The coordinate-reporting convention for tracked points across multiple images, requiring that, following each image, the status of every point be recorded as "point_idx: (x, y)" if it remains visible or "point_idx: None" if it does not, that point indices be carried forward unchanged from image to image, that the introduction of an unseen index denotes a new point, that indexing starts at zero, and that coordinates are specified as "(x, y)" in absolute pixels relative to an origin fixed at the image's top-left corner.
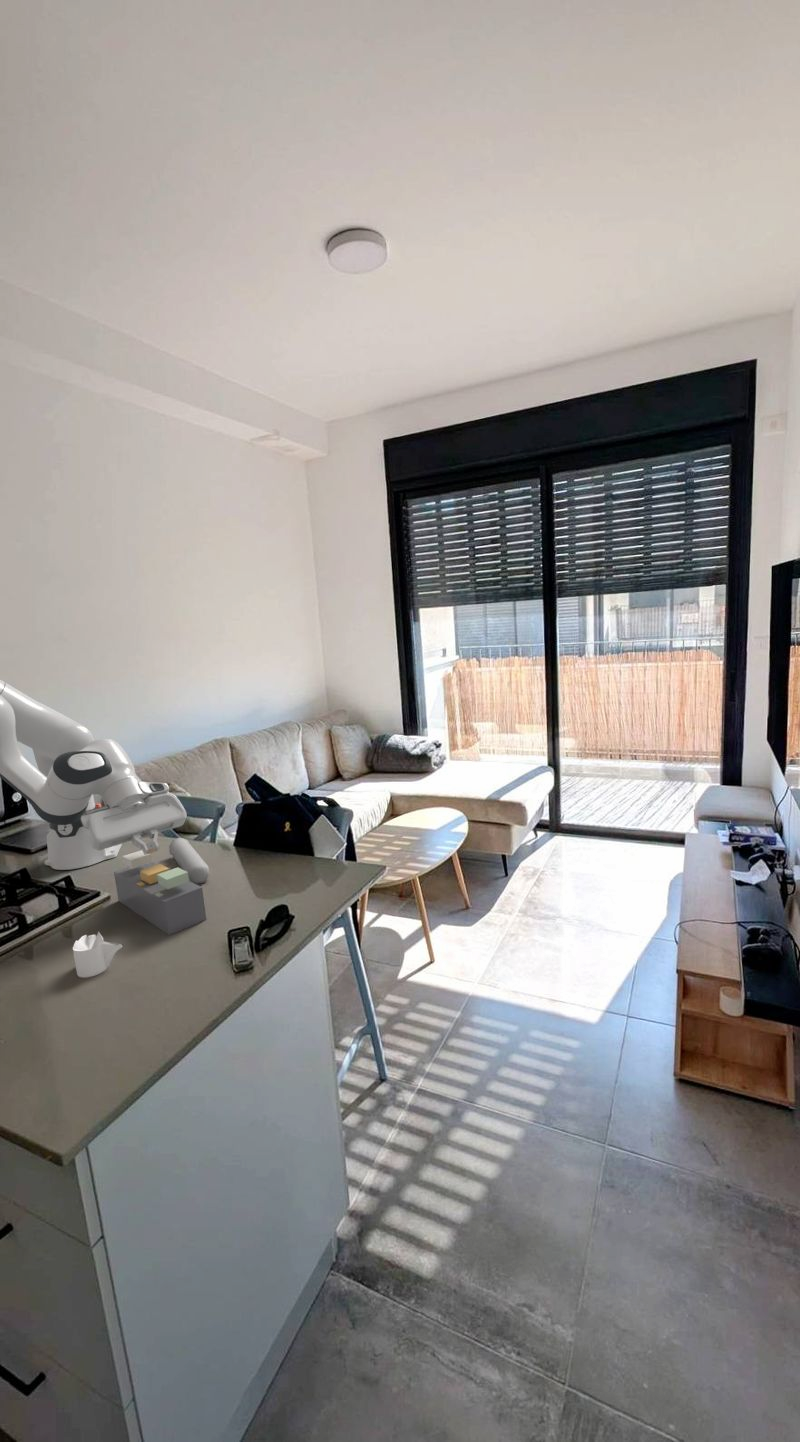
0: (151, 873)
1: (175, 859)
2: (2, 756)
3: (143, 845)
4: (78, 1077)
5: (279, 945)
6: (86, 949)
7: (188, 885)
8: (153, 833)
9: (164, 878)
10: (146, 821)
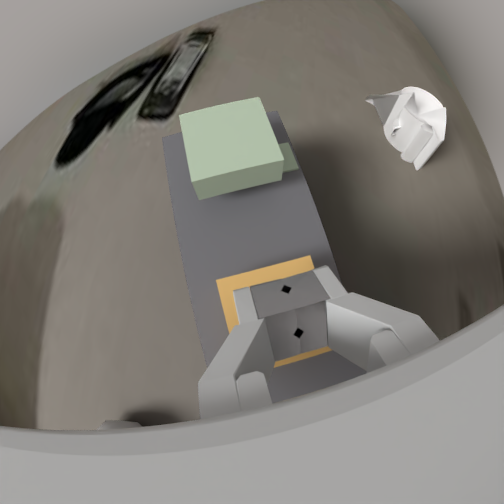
0: (296, 270)
1: None
2: None
3: (344, 289)
4: (369, 7)
5: (139, 58)
6: (424, 113)
7: (187, 173)
8: (246, 374)
9: (263, 108)
10: (308, 488)
